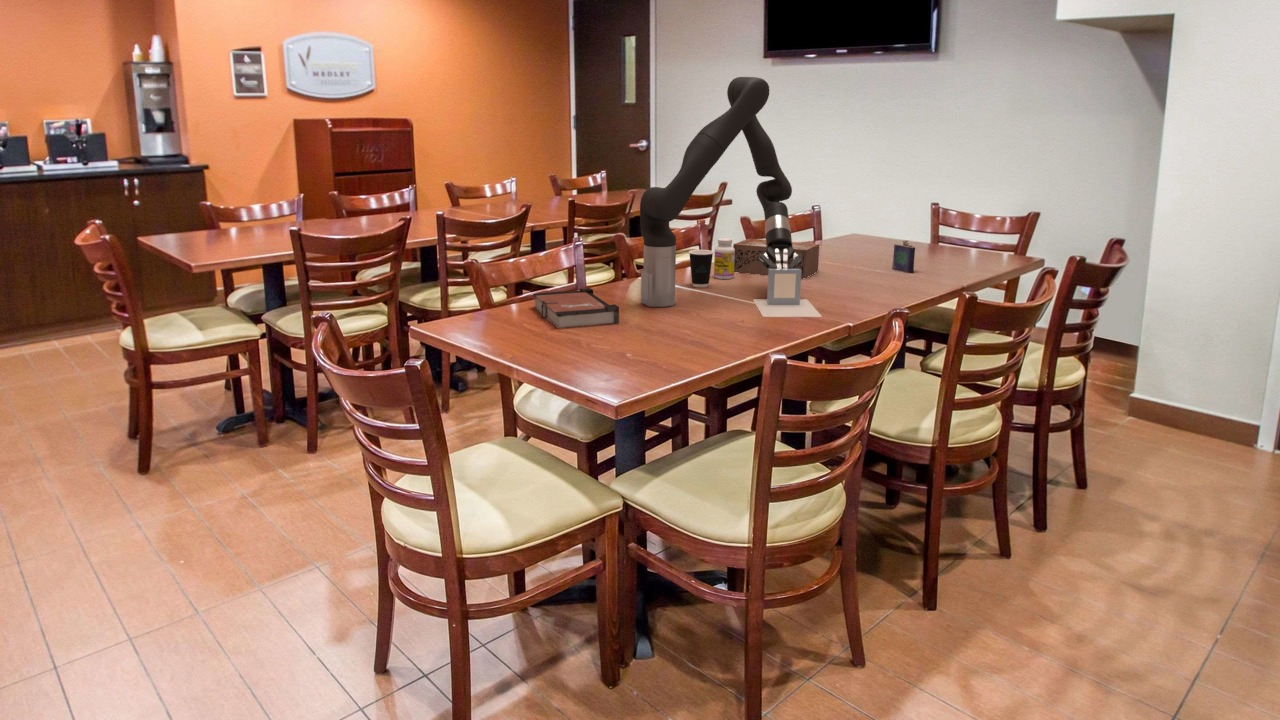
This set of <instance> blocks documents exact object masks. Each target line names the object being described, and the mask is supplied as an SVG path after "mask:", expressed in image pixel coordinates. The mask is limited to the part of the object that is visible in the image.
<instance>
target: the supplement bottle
mask: <svg viewBox="0 0 1280 720" xmlns="http://www.w3.org/2000/svg"><path fill="white" fill-rule="evenodd" d="M717 244H718V246H716V247H715V248H714V259H713V260H714V261H713V277H714V278H715V279H719V280H730V279H732V278H734V275H735V273H734V258H735V249H734V248H733V246H732V244H733V239H732V238H729V237H726V238H725V237H723V238H721V237H720V238H718V239H717Z"/></svg>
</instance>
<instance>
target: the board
mask: <svg viewBox="0 0 1280 720" xmlns="http://www.w3.org/2000/svg"><path fill="white" fill-rule="evenodd" d="M752 300H753V302H754V304H755V305H756V307H757V309H758V310H759V312H760V314H761V316H762V317H763V318H823V316H822V314H821V313H820V312H819V311H818V310H817V309H816V308H815V306H814V305H813V304H812V303H811V302H810V301H809V299H806V298H805V299H803V298H802V299H801V298H800V305H768V304H767V298H765V299H764V298H761V299H759V298H758V299H757V298H756V299H755V298H754V299H752Z"/></svg>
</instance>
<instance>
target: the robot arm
mask: <svg viewBox="0 0 1280 720" xmlns="http://www.w3.org/2000/svg"><path fill="white" fill-rule="evenodd" d="M726 93H727V95H726V96H727V100H728V103H729V105H730V107H729V109H728V110H726V111H725V112H724V113H723V114H721V115H720V116H718V117H716V118H715V119H714V120H712V121H710V122H709V123H707V124H705V126H704V127H702V128H701V129H700V130H699V131H698V132H697V134H696V135H695V136H694V137H693V139H692V140H691V141H690V142H689V144H688V145H687V146H686V149H685V151H684V154H683V158H682V163H681V165H680V169H679V170H678V173H676V175H675V177H673V179H672V180H671V181H670V182H669V183H668V185H667V186H666V187H661V186H660V187H659V186H651V187H649V188H647V189H645V191H644V192H643V193H642V196H641V198H640V203H639V215H640V216H639V218H640V219H639V220H640V234H641V236H642V240H643V270H641V271H640V303H641V304H643V305H645V306H646V307H648V308H649V307H650V308H653V307H654V308H655V307H656V308H662V307H663V308H666V307H672V306H674V305H676V271H677V269H676V267H677V265H676V264H677V263H676V261H677V260H676V259H677V258H676V255H677V236H676V233H674V231H672V229H671V228H670V224H669V222H672V221H674V220H675V219H677V218H678V216H680V214H681V213H682V211H683V210H684V208H685V207H686V205H687V203H688V202H689V200H690V198H691V197H692V195H693V193H694V192H695V190H696V189H697V187H699V185H700V184H701V182H702V181H703V180H704V179H705V178H706V176H707V174H708V173H709V172H710V171H711V169H712V168H713V167H714V166H715V165H716V164H717V163H718V161H719V160H720V158H721V157H722V156H723V154H724V153H725V152H726V151H727V149H728V148H729V146H731V144H732V143H733V141H734V140H735V139H736V137H738V136H739V134H740V133H741V132H742V133H743V135H744V138H745V140H746V142H747V145H748V148H749V150H750V154H751V157H752V160H753V164H754V169H755V171H756V173H757V175H758V176H759V177H763V178H766V177H767V178H773V179H769V180H765V181H762V182H760V183H758V185H757V187H756V191H755V192H756V196H757V198H758V201H759V203H760V204H761V207H762V210H763V212H764V213H763V214H764V236H765V240H766V246H767V249H766V252H765V253H764V254H760V258H759V261H760V262H761V263H762V264H763V265H764V266H765V267H766V268H767V269H781V264H782V269H794V268H795V267H796V266H797V265H798V264H799V263H800V261H801V258H802V255H801V254H796V253H795V251H794V249H793V247H792V242H793V239H792V231H791V230H792V229H791V224H790V219H789V218H790V217H789V210H788V206H787V205H786V204H785V203H784V202H783V201H787V200H788V199H790V198H791V196H792V192H793V188H792V185H791V182H790V181H789V180H788V178H787V176H786V175H785V173H784V171H783V170H782V168H781V165H780V164H779V159H778V156H777V151H776V149H775V146H774V143H773V142H772V141H773V140H771V138H770V137H769V135H768V133H767V132H766V130H765V129H764V128H763V126H762V125H761V123H760V121H759V119H758V118H757V117H758V116H757V114H759V113H760V111H761V110H762V109H763V108H764V106H765V105H766V103H767V101H768V100H769V96H770V85H769V83H768V82H767V81H766V80H765V79H763V78H762V77H757V76H737V77H735V78H733V79H732V80H731V81H730V82H729V84H728V86H727V91H726ZM792 257H793V261H792V263H791V264H790V265H789V266H787V263H788V262H789V261H790V259H791V258H792ZM768 258H769V259H770V260H771V261H772V262H773V263H774V264H773V263H772V262H771V261H770V260H769V259H768Z"/></svg>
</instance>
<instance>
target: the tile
mask: <svg viewBox="0 0 1280 720" xmlns="http://www.w3.org/2000/svg"><path fill="white" fill-rule="evenodd" d="M801 285H802V279H801V269H768V276H767V293H766V299H767V304H768V305H800V299H801V287H802V286H801Z"/></svg>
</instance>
